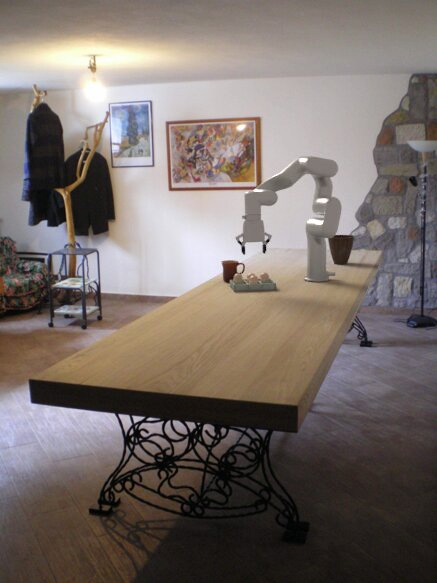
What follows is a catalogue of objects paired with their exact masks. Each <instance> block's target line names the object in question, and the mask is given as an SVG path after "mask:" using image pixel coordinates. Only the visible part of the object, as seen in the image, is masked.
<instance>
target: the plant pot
mask: <svg viewBox="0 0 437 583" xmlns="http://www.w3.org/2000/svg"><path fill="white" fill-rule="evenodd" d="M354 239H355V236H354V235H353V234H352V235H351V234H336V235H335V236H334V237H332V238H327V242H328V247H329V248H328V249H329V251H330V255H331V258H332V261H333V264H334V265H347V264H348V262H349V260H350V256H351V254H352V250H353V245H354V242H355V241H354Z"/></svg>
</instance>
